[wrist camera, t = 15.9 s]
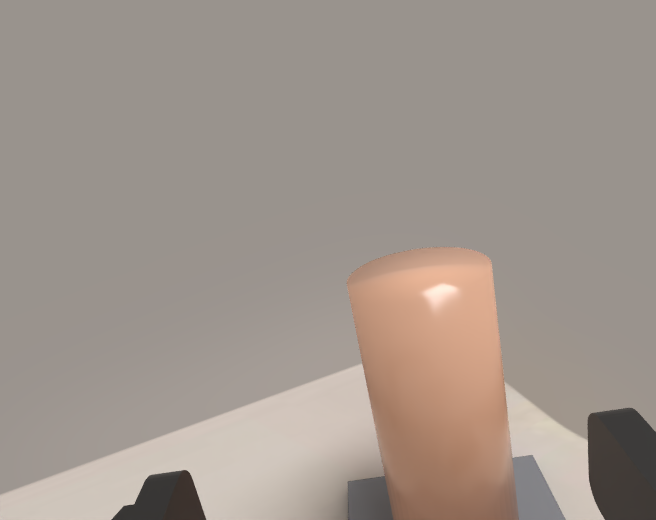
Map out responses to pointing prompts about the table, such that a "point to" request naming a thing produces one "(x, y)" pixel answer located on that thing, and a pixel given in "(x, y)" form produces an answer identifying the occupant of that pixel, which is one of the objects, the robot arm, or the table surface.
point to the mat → (531, 487)
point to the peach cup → (436, 383)
